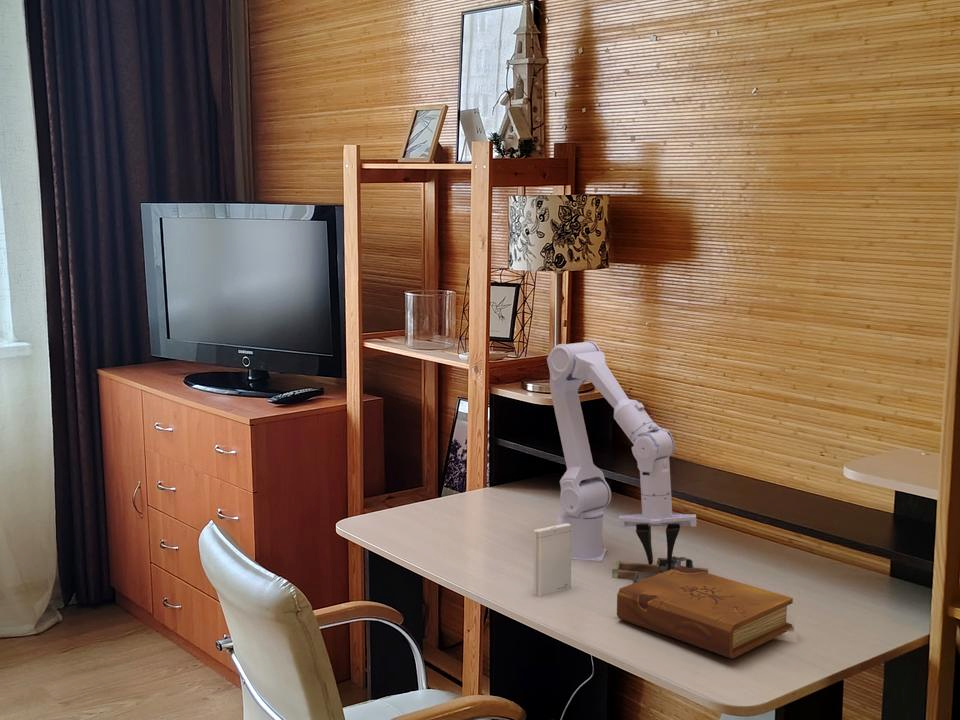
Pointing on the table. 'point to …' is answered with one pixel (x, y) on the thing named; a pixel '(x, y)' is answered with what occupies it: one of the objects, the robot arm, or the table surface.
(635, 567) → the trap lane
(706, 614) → the diary
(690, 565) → the wristwatch
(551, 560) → the hard drive
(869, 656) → the table surface
